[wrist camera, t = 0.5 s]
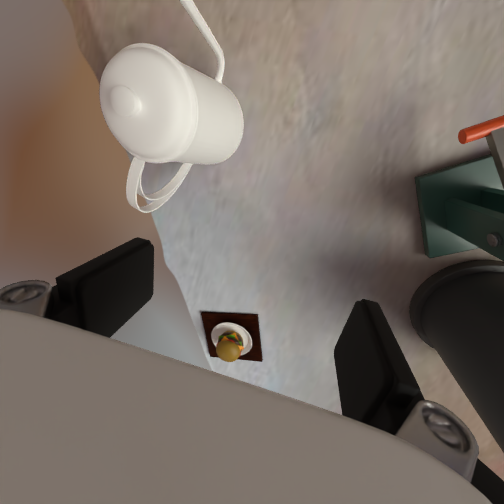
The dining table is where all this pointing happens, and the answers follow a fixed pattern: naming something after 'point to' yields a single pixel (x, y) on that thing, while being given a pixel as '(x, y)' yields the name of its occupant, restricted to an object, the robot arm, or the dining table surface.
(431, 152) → the dining table surface
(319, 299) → the dining table surface
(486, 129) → the switch lever
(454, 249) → the switch bracket
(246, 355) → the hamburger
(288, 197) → the dining table surface
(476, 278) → the kettle
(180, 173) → the coffeepot
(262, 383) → the dining table surface
